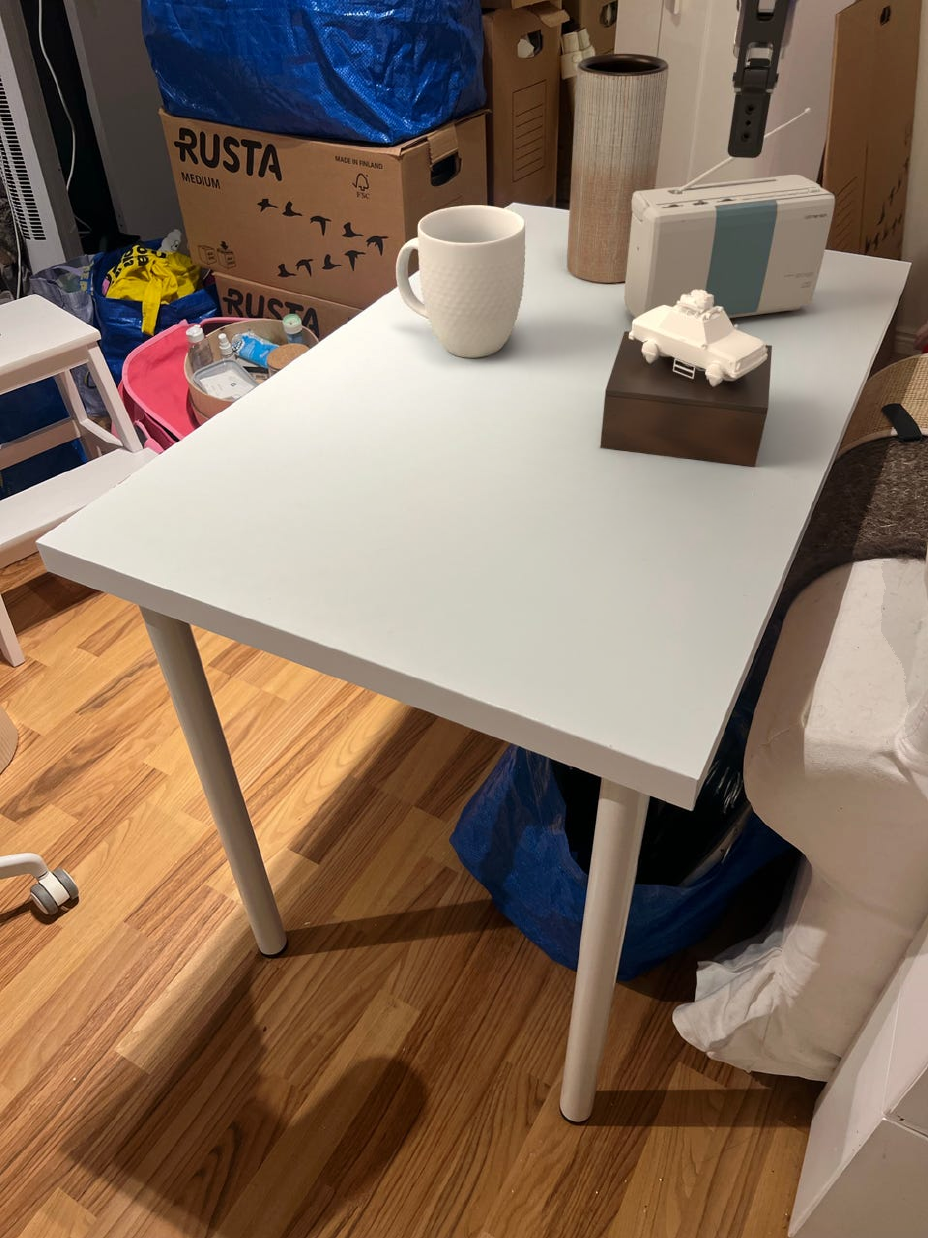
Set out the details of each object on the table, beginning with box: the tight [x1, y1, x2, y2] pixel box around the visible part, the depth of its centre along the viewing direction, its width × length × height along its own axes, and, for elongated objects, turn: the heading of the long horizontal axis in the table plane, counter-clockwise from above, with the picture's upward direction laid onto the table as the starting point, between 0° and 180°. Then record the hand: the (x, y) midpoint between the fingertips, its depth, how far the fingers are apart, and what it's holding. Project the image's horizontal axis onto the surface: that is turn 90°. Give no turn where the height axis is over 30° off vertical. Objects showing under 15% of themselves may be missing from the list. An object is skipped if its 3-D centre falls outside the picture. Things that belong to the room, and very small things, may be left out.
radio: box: [623, 107, 836, 319], centre depth 99 cm, size 21×8×20 cm, turn 104°
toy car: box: [629, 289, 768, 387], centre depth 81 cm, size 6×12×7 cm, turn 45°
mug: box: [395, 204, 526, 359], centre depth 97 cm, size 15×11×13 cm
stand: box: [599, 330, 773, 468], centre depth 86 cm, size 14×12×6 cm
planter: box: [566, 53, 670, 284], centre depth 108 cm, size 10×10×23 cm
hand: (747, 139), depth 64 cm, fingers open, 8 cm apart
